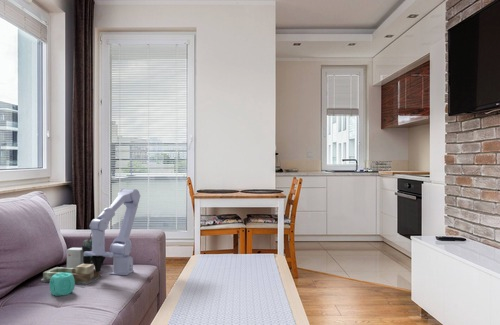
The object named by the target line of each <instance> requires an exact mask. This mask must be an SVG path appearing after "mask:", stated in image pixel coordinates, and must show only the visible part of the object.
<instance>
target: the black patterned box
mask: <svg viewBox="0 0 500 325" xmlns="http://www.w3.org/2000/svg"><path fill="white" fill-rule="evenodd" d="M81 246H82V247H81V248H82V250H83V263H84V264H93V262H92V260H91V258H92V256H84V252H85V251H92V233H90V235H89V238H88V239H84V240H83V241H82V245H81Z"/></svg>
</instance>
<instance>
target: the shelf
mask: <svg viewBox="0 0 500 325" xmlns="http://www.w3.org/2000/svg"><path fill="white" fill-rule="evenodd" d="M100 272H101V271H99V272H96V270H95V268H94V276H93V277H92V278H90V274H76V268H67V267H62V266H60V267H59V266H56V267H53V268H50V269H48V270H45V271H43V272H42V278H41V279H40V282H42V283H50V279H51V277H52V276H53V275H55V274H58V273H71V274H72V275H73V277H74V281H75V285H89V284H91V283H92V282H94V281H96V280H98V279H99V278H101V277H102V274H101V273H100Z"/></svg>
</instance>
